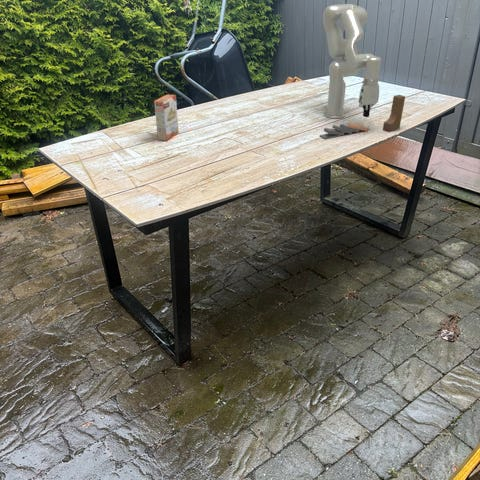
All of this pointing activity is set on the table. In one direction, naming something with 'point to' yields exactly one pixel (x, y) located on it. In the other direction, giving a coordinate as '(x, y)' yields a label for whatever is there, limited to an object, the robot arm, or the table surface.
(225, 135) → the table surface
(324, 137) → the domino
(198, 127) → the table surface
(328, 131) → the domino
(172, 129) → the cracker box
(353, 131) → the domino
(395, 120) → the wooden block
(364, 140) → the table surface
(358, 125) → the domino
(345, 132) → the domino
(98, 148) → the table surface
